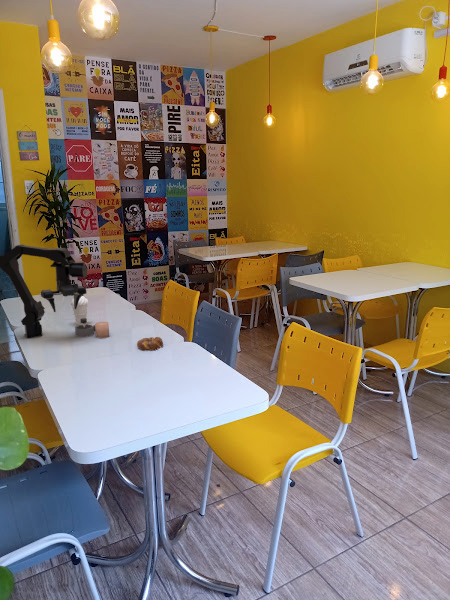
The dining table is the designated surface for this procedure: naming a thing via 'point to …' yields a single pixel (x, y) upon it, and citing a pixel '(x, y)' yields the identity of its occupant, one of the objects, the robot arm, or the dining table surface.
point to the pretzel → (149, 343)
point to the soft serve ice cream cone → (80, 310)
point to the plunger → (83, 322)
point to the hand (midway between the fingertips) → (65, 310)
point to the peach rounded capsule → (102, 329)
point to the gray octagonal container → (84, 330)
